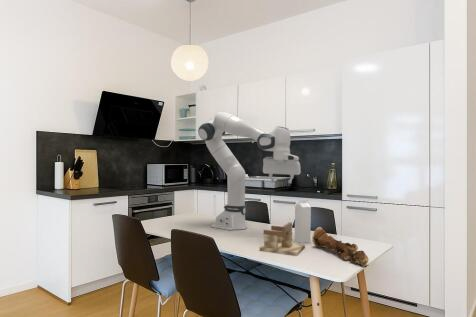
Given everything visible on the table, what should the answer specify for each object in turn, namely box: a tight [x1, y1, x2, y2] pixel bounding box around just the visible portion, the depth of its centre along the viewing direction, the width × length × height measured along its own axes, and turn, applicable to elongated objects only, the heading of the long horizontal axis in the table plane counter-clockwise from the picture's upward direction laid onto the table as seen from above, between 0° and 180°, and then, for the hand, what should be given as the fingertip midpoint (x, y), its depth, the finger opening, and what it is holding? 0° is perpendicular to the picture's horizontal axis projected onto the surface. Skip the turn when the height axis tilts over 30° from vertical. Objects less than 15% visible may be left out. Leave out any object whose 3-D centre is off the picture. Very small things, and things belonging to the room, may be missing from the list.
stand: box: [259, 230, 306, 257], centre depth 158 cm, size 18×16×8 cm
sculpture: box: [311, 226, 370, 267], centre depth 149 cm, size 9×14×35 cm
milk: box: [294, 199, 312, 244], centre depth 174 cm, size 6×6×22 cm
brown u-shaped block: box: [263, 221, 293, 237], centre depth 159 cm, size 10×13×4 cm
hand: (281, 182), depth 174 cm, fingers open, 8 cm apart
